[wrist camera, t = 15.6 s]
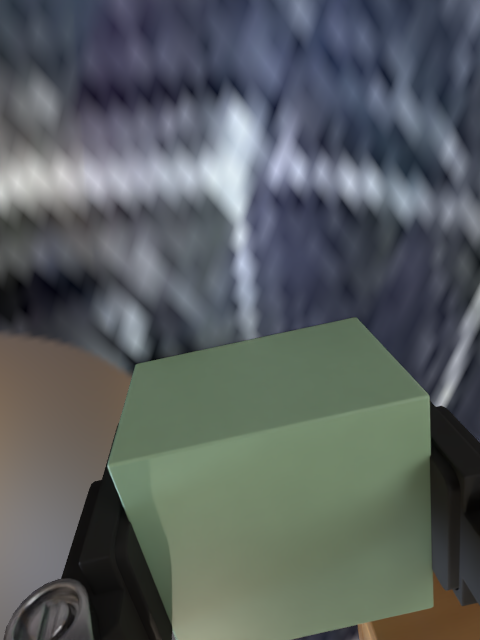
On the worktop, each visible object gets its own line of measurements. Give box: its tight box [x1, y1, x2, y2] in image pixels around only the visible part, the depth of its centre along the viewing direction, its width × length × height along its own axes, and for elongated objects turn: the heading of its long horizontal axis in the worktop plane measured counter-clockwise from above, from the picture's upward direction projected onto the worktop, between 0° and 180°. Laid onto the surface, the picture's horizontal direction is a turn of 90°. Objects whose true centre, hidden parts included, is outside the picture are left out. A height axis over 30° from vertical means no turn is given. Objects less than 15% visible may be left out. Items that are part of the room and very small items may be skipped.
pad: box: [107, 318, 434, 640], centre depth 10 cm, size 6×6×4 cm
